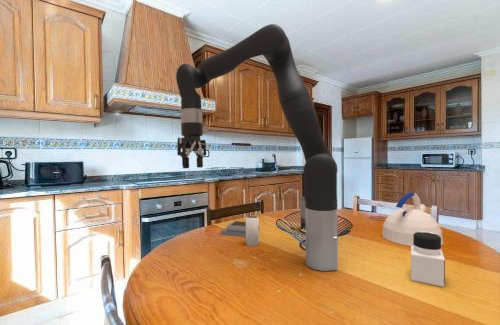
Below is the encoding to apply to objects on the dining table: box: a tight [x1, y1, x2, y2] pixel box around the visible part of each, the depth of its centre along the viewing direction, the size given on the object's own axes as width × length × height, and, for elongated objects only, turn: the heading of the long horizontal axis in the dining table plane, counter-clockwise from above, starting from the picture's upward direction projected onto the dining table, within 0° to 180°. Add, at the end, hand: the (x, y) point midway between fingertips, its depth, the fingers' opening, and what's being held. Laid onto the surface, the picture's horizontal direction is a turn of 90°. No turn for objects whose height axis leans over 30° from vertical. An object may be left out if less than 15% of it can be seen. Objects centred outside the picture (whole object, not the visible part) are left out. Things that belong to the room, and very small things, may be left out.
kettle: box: [381, 192, 444, 247], centre depth 101 cm, size 20×21×18 cm
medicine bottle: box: [410, 232, 446, 288], centre depth 68 cm, size 7×7×12 cm
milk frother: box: [299, 196, 339, 230], centre depth 113 cm, size 14×16×15 cm
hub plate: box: [220, 220, 246, 238], centre depth 113 cm, size 13×12×4 cm
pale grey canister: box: [245, 215, 260, 247], centre depth 97 cm, size 5×5×10 cm
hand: (193, 167), depth 93 cm, fingers open, 8 cm apart
